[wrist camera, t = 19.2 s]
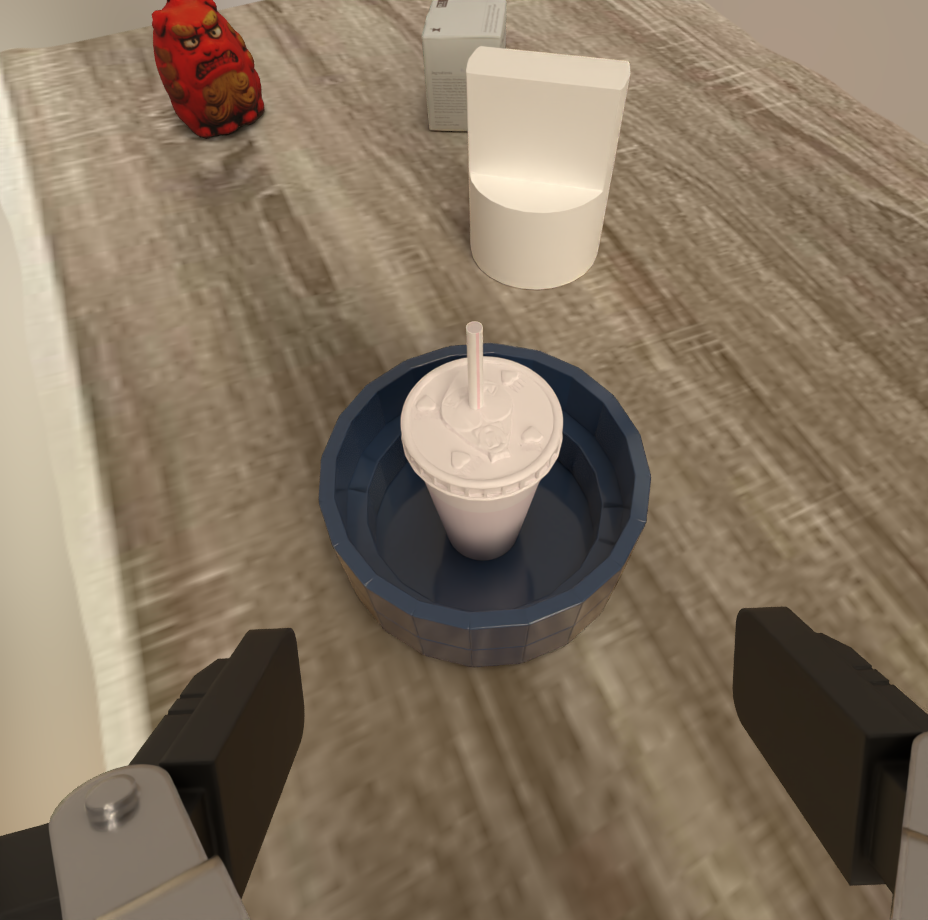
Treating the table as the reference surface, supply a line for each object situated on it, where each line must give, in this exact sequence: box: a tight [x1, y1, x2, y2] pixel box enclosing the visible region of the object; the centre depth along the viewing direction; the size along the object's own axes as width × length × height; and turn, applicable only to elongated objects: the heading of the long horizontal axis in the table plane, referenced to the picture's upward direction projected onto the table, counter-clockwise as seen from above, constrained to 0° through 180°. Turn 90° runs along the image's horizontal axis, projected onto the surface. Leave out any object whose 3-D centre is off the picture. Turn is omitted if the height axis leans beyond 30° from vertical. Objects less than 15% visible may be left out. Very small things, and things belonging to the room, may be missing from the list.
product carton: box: [422, 0, 507, 131], centre depth 51 cm, size 6×6×7 cm
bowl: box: [319, 343, 651, 667], centre depth 31 cm, size 14×14×6 cm
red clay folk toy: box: [152, 0, 264, 138], centre depth 49 cm, size 8×7×15 cm
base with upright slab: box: [466, 46, 630, 290], centre depth 40 cm, size 9×9×12 cm
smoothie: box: [401, 322, 563, 560], centre depth 27 cm, size 6×6×14 cm
